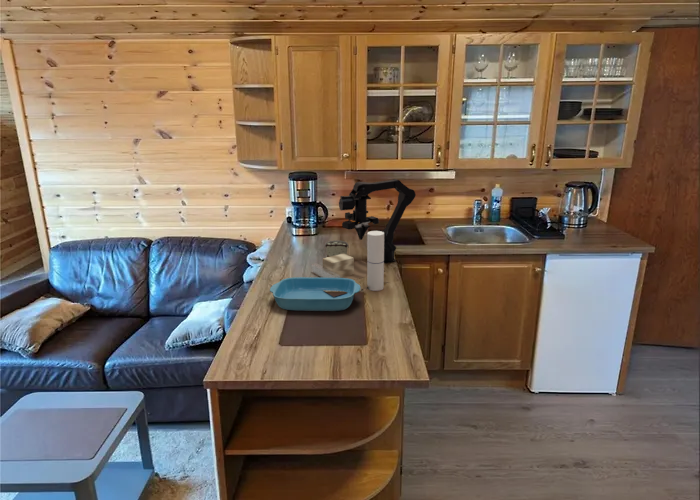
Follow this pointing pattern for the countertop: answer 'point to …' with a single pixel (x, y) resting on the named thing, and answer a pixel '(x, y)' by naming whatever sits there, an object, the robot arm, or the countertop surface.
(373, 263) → the cylindrical container
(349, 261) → the maple block
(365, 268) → the walnut board
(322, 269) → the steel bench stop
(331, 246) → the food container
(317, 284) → the casserole dish
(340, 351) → the countertop surface
